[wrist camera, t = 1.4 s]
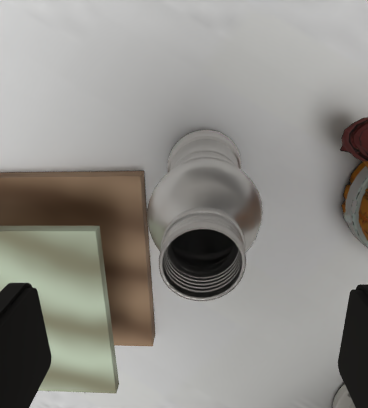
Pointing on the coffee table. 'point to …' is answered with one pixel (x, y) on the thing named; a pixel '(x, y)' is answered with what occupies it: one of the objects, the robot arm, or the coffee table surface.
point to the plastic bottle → (204, 217)
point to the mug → (357, 180)
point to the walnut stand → (81, 267)
